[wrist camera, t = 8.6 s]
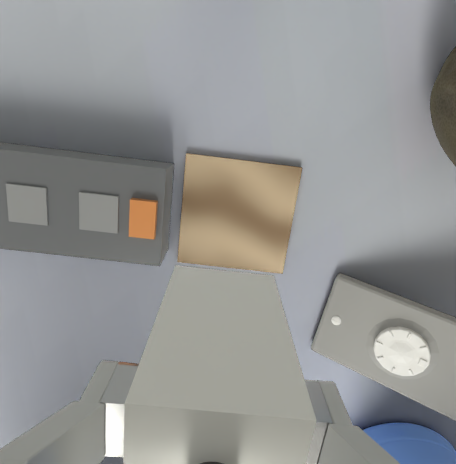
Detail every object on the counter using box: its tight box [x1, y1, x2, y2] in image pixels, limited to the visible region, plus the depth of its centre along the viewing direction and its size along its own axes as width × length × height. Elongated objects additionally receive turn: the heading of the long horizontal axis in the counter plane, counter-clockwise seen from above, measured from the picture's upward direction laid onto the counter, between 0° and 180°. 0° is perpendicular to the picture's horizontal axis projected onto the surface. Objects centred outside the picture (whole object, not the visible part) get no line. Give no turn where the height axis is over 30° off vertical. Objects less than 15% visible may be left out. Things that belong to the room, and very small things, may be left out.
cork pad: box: [177, 153, 302, 274], centre depth 30 cm, size 10×10×1 cm
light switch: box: [311, 273, 456, 421], centre depth 32 cm, size 8×6×14 cm
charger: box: [123, 265, 316, 464], centre depth 10 cm, size 4×4×9 cm
